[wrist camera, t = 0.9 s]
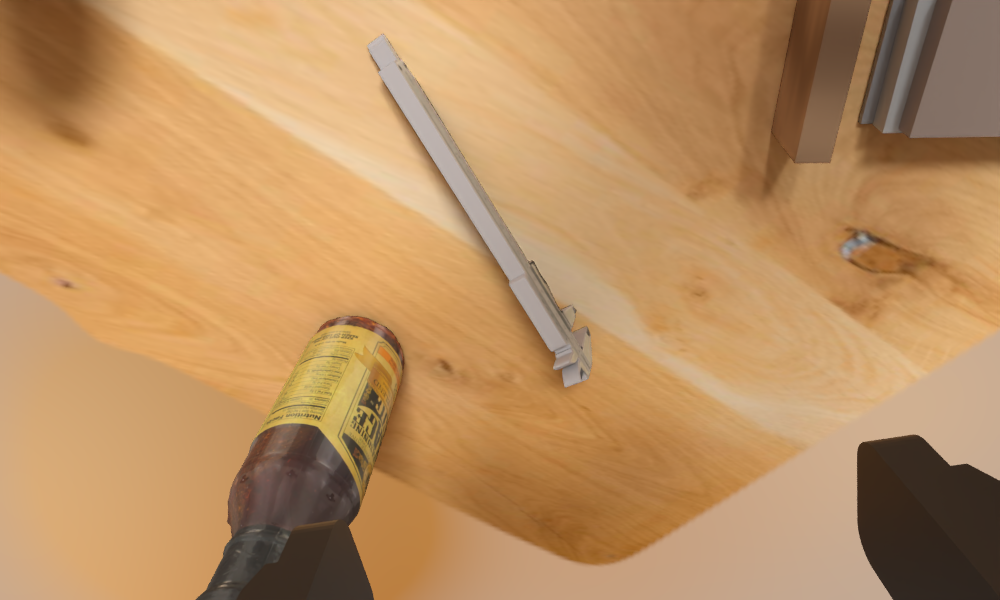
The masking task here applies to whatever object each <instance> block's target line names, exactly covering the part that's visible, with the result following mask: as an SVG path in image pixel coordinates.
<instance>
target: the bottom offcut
mask: <svg viewBox="0 0 1000 600" xmlns="http://www.w3.org/2000/svg"><path fill="white" fill-rule="evenodd" d="M904 2H905V0H890V3H889V7H888V11H887V14H886V18H885V22H884V26H883V30H882V33H881V37H880V41H879V45H878V49H877V52H876V56H875V60H874V64H873V68H872V71H871V75H870V79H869V83H868V87H867V90H866V94H865V98H864V102H863V106H862V109H861V113H860V117H859V121H858V122H859V123H860V124H873V121H874V118H875V114H876V110H877V106H878V102H879V98H880V95H881V91H882V87H883V83H884V79H885V75H886V71H887V68H888V64H889V60H890V56H891V52H892V48H893V44H894V41H895V37H896V33H897V29H898V25H899V21H900V17H901V14H902V10H903V6H904Z"/></svg>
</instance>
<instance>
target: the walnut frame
mask: <svg viewBox="0 0 1000 600" xmlns="http://www.w3.org/2000/svg"><path fill="white" fill-rule="evenodd" d="M870 4H871V0H797V5H796V10H795V15H794V20H793V25H792V30H791V35H790V40H789V45H788V50H787V56H786V61H785V66H784V71H783V76H782V81H781V86H780V91H779V96H778V101H777V106H776V111H775V116H774V122H773V127H772V133H773V135H774V136H775V137H776V139H777V140H778V141H779V143H780V144H781V145H782V147H783V148H784V149H785V151H786V152H787V153H788V155H789V156H790V157H791V159H792V160H793V161H794V163H830V161H831V157H832V153H833V149H834V145H835V141H836V138H837V134H838V130H839V126H840V122H841V118H842V114H843V110H844V106H845V102H846V98H847V94H848V90H849V86H850V83H851V79H852V75H853V71H854V67H855V63H856V59H857V55H858V51H859V47H860V43H861V39H862V35H863V31H864V28H865V24H866V20H867V16H868V12H869V8H870Z"/></svg>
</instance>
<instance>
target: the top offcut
mask: <svg viewBox="0 0 1000 600" xmlns="http://www.w3.org/2000/svg"><path fill="white" fill-rule="evenodd" d="M898 129H899V130H900V131H902V132H903V133H904V134H905V135H907V136H908V137H909V138H942V137H1000V0H937V1H936V4H935V8H934V11H933V14H932V18H931V21H930V24H929V28H928V31H927V34H926V38H925V41H924V44H923V48H922V51H921V54H920V58H919V61H918V64H917V68H916V71H915V74H914V78H913V81H912V84H911V88H910V91H909V95H908V98H907V101H906V105H905V108H904V111H903V115H902V118H901V121H900V125H899V128H898Z"/></svg>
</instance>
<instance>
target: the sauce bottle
mask: <svg viewBox="0 0 1000 600" xmlns="http://www.w3.org/2000/svg"><path fill="white" fill-rule="evenodd" d="M403 365H404V359H403V354H402V350H401V348H400V344H399V343H398V342H397V340H396V337H395V336H394V334H393V333H392V332H391V331H390V330H389V329H387V327H384V326H382V325H379V324H378V323H376V322H374V321H372V320H370V319H368V318H363V317H358V316H346V317H342V318H340V317H339V318H336V319H333V320H329V321H327V322H326V323H325V324H323V325H322V326H321V327H320V329H319V330H318V332H317V333H316V335H314V336H313V337H312V339H311V340H310V341H309V343H308V344H307V346H306V348H305V350H304V351H303V353H302V355H301V357H300V358H299V360H298V362H297V364H296V366H295V367H294V369H293V371H292V373H291V374H290V376H289V378H288V380H287V381H286V383H285V385H284V387H283V389H282V390H281V392H280V394H279V396H278V398H277V399H276V401H275V403H274V405H273V407H272V408H271V410H270V412H269V414H268V415H267V417H266V419H265V421H264V423H263V424H262V426H261V428H260V430H259V431H258V433H257V435H256V437H255V439H254V440H253V442H252V444H251V447H250V451H249V454H248V456H247V458H246V460H245V462H244V463H243V465H242V467H241V469H240V471H239V472H238V474H237V475H236V477H235V479H234V481H233V484H232V487H231V490H230V495H229V500H228V520H227V522H228V524H229V525H230V526H231V533H232V539H231V540H230V541H229V542H228V543H227V545H226V546H225V549H224V553H223V559H222V560H221V562H220V564H219V566H218V568H217V570H216V572H215V574H214V576H213V577H212V579H211V582H210V583H209V585H208V588H207V590H206V591H205V592H203V593H202V594H201V595H200V596H199V597H198V598H197V599H196V600H236V599H237V597H238V595H239V593H240V591H241V590H242V589H243V588H244V587H245V586H246V585H247V584H248V582H249V581H250V580H251V579H252V578H253V577H254V576H255V575H256V574H257V573H258V572H259V570H260V569H261V568H262V567H263V566H264V565H265V564H268V563H275V562H278V560H279V558H280V555H281V553H282V551H283V549H284V547H285V544H286V542H287V540H288V538H289V536H290V534H291V532H292V530H293V529H294V528H295V527H296V526H300V525H307V524H313V523H320V522H327V521H333V520H340V519H341V520H344V521H345V522H346V523H347V525H348V526H349V525H350V523H351V522H352V521H353V520H354V518H355V517H356V516H357V514H358V512H359V509H360V506H361V503H362V500H363V497H364V495H365V492H366V489H367V485H368V482H369V479H370V476H371V474H372V470H373V467H374V464H375V461H376V458H377V455H378V452H379V448H380V446H381V443H382V439H383V437H384V434H385V431H386V427H387V423H388V420H389V417H390V414H391V411H392V408H393V405H394V402H395V398H396V395H397V392H398V389H399V386H400V383H401V379H402V370H403Z"/></svg>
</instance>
